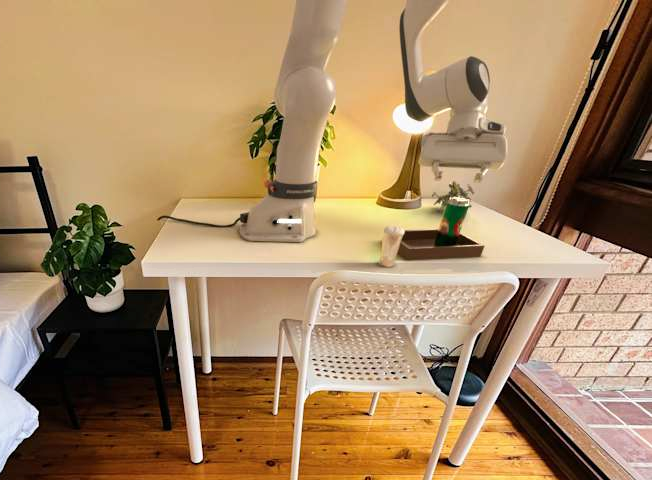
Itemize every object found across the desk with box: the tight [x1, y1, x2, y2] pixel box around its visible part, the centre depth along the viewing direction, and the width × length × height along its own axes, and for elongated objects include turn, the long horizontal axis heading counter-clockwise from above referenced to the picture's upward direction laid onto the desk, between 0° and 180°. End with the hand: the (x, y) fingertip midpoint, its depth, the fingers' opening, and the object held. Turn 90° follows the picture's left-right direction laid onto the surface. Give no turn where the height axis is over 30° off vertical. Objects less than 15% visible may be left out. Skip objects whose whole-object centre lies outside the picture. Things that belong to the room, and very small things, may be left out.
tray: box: [397, 228, 486, 261], centre depth 97 cm, size 20×14×3 cm
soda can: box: [435, 197, 470, 247], centre depth 94 cm, size 5×5×12 cm
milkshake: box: [378, 225, 405, 268], centre depth 86 cm, size 4×5×10 cm
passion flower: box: [431, 180, 475, 212], centre depth 124 cm, size 11×11×12 cm
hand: (457, 180), depth 97 cm, fingers open, 8 cm apart
